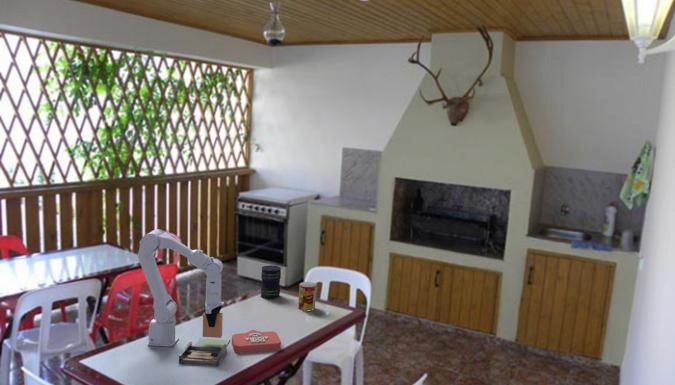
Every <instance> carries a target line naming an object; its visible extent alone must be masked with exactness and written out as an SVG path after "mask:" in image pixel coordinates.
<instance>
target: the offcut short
mask: <svg viewBox="0 0 675 385" xmlns="http://www.w3.org/2000/svg"><path fill="white" fill-rule="evenodd" d="M191 355H199V356H211V353H198V352H192V353H191Z"/></svg>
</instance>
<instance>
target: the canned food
mask: <svg viewBox="0 0 675 385" xmlns="http://www.w3.org/2000/svg"><path fill="white" fill-rule="evenodd" d="M316 291H317V284H316V283H315V282H310V281H303V282H300V283H299V292H298V310H299V309H300V311H301V310H304V311H303V312H308V311H307V310H312V309H314V308H316ZM314 310H315V309H314Z"/></svg>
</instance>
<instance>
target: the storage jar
mask: <svg viewBox="0 0 675 385" xmlns="http://www.w3.org/2000/svg"><path fill="white" fill-rule="evenodd" d="M281 269H282V268H281V266H278V265H274V264H273V265H264V266H262V267H261V273H260V274H261V276H260V277H261V286H260V298H262V299H264V300H277V299H279V298H280V294H281V278H282V273H281V272H282V270H281Z"/></svg>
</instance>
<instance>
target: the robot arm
mask: <svg viewBox="0 0 675 385" xmlns="http://www.w3.org/2000/svg"><path fill="white" fill-rule="evenodd" d="M138 248H139V249H138V254H137V258H138V262H139V264H140V266H141V267H140V268H141V269H142V272H143V274H144V277H145V279H146V282H147V285H148V287H149V291H150V293H151V296H152V298H153V310H154V314H153V317H154V318H153V319H151V320H150V323H149V324H148V343H147V345H148V346H154V347H155V346H157V347H173V346H174V345H175V344H176V343H177V341H178V340H179V339H180V338H179V337H176V321H177V319H176V316H175V314H176V313H177V311H178V304H177V303H176V302H175V301H174V300H173V298H172V295H170V294H169V293H168V291H167V288H166V285H165V283H164V280H163V278H162V275H161V273H160V270H159V267H158V264H157V262H156V259H155V254H156V252H157V251H158V249H160V250H161V249H163V250H164V249H170V250H172V251H174V252H175V253H178V254H179V255H182V257H183V256H184V257H185V258H187V261H188V263H189V264H191V265H193V266H195V267H196V268H198V269H200V270H202V271H203V272H204V273H205V275H206V280H205V281H206V282H205V284H206V285H205V302H204V306H205V308H204V309H203V314H204V313H205V315H206V317H207V321H208V325H209V327H215V323H216V317H217V314H218V313H221V309H222V308H223V306H224V305H225V302H224V301H222V271H223V268H224V265H223V262H222V261H221V260H220V259H219V258H215V257H213V256H209V255H208V254H206V253H204V250H202V249H191V248H190V247H188V246H186V244H184V243H182V242H181V241H179V240H177V239H176V238H174V237H173V236H172V235H171V234H170V233H168V232H165V231H163V230H162V229H159V228H156V229H153V230H151V231H150V232H148V233H145V234H144V235H143V236H142V237H141V239H140V240H139V247H138Z"/></svg>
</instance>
